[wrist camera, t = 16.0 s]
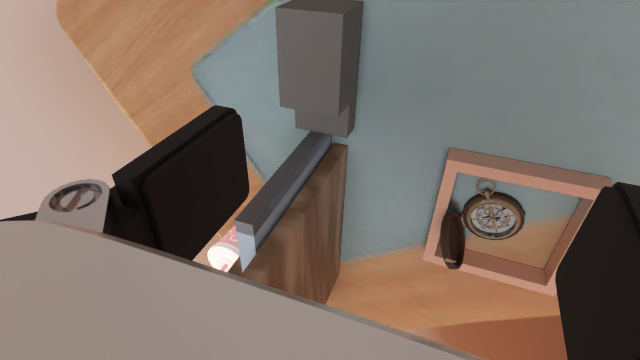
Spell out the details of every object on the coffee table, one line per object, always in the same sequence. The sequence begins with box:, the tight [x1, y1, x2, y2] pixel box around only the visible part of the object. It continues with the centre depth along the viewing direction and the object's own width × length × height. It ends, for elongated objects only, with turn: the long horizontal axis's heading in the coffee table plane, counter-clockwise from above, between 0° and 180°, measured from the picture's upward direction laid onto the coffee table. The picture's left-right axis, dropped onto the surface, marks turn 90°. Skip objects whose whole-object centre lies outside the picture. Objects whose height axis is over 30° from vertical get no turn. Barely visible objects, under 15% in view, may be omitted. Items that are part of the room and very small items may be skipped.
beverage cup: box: [208, 226, 240, 272], centre depth 51 cm, size 6×6×14 cm
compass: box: [440, 181, 526, 269], centre depth 39 cm, size 8×8×7 cm
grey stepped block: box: [275, 0, 363, 138], centre depth 37 cm, size 6×13×6 cm, turn 179°
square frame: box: [422, 148, 612, 296], centre depth 41 cm, size 14×14×2 cm
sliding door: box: [234, 131, 331, 273], centre depth 41 cm, size 2×16×18 cm, turn 178°
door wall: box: [228, 143, 348, 305], centre depth 42 cm, size 6×22×23 cm, turn 178°
